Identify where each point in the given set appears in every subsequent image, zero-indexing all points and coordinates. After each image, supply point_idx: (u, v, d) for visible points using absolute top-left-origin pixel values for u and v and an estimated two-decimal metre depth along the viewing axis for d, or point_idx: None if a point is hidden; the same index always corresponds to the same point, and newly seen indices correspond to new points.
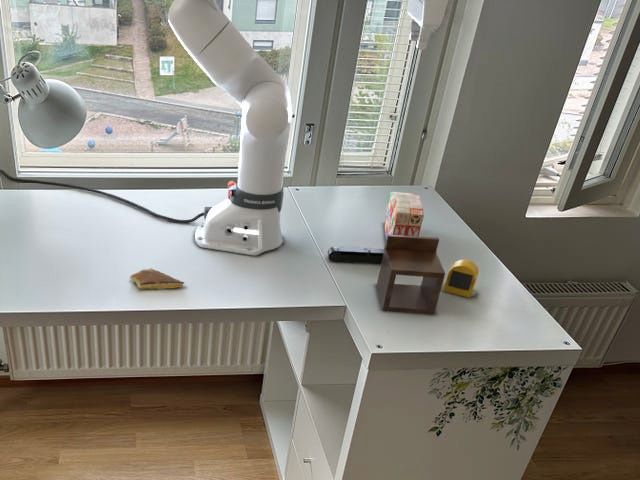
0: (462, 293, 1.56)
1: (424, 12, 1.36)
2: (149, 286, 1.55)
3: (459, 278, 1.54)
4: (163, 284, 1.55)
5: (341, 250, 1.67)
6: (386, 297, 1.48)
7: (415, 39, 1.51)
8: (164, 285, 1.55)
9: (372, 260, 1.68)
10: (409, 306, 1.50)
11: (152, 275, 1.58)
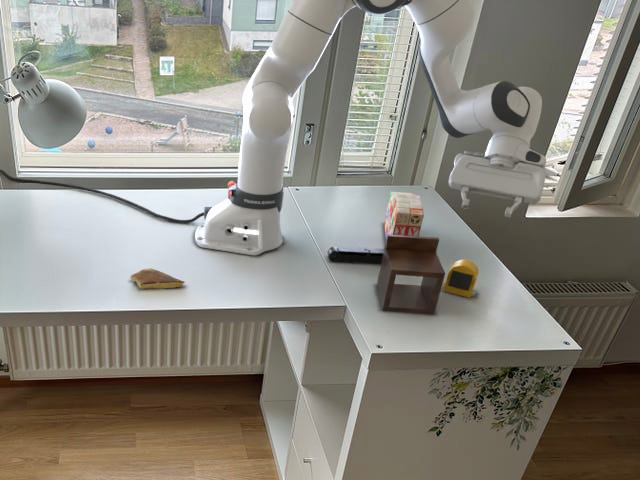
0: (462, 293, 1.56)
1: (543, 187, 1.54)
2: (150, 286, 1.55)
3: (459, 278, 1.54)
4: (164, 284, 1.55)
5: (341, 250, 1.67)
6: (386, 297, 1.48)
7: (467, 207, 1.60)
8: (165, 285, 1.56)
9: (372, 260, 1.68)
10: (409, 306, 1.50)
11: (152, 275, 1.58)
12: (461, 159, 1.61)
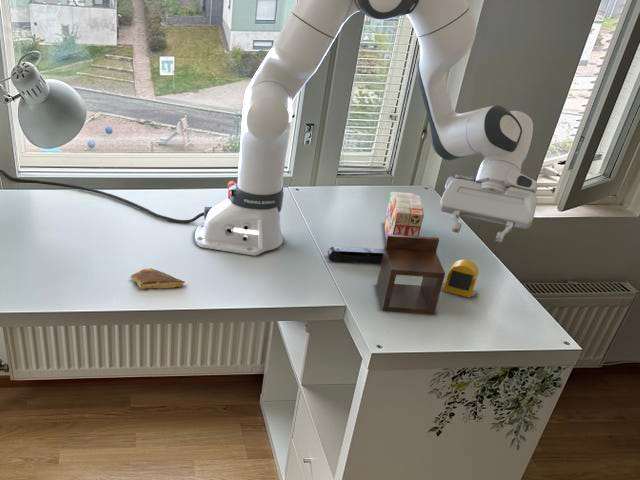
0: (462, 293, 1.56)
1: (534, 211, 1.53)
2: (150, 286, 1.55)
3: (459, 278, 1.54)
4: (164, 284, 1.55)
5: (341, 250, 1.67)
6: (386, 297, 1.48)
7: (458, 231, 1.59)
8: (165, 284, 1.56)
9: (372, 260, 1.68)
10: (409, 306, 1.50)
11: (152, 275, 1.58)
12: (452, 183, 1.60)
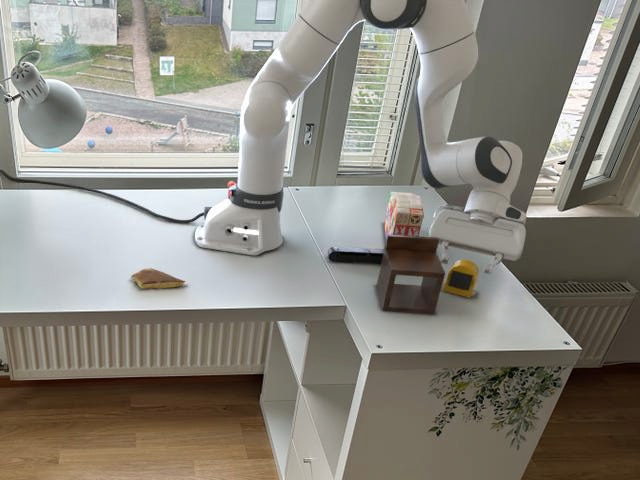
0: (462, 293, 1.56)
1: (523, 244, 1.51)
2: (150, 285, 1.55)
3: (459, 278, 1.54)
4: (164, 283, 1.56)
5: (341, 250, 1.67)
6: (386, 297, 1.48)
7: (447, 262, 1.57)
8: (165, 284, 1.56)
9: (372, 260, 1.68)
10: (409, 306, 1.50)
11: (152, 274, 1.58)
12: (441, 213, 1.58)
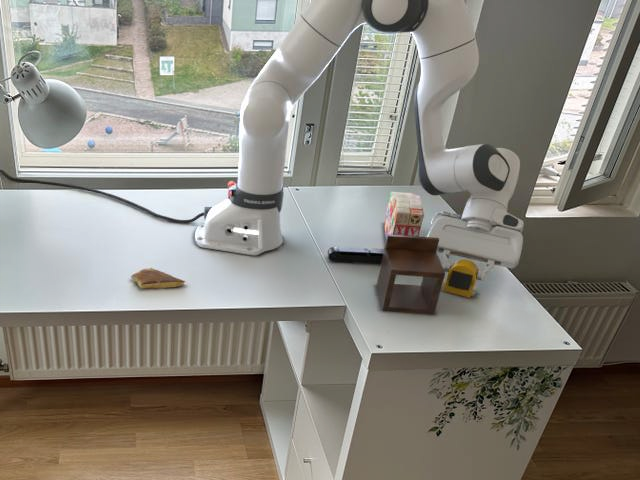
0: (462, 293, 1.56)
1: (520, 251, 1.50)
2: (150, 285, 1.55)
3: (459, 278, 1.54)
4: (164, 283, 1.56)
5: (341, 250, 1.67)
6: (386, 297, 1.48)
7: None
8: (165, 284, 1.56)
9: (372, 260, 1.68)
10: (409, 306, 1.50)
11: (152, 274, 1.58)
12: (438, 220, 1.58)
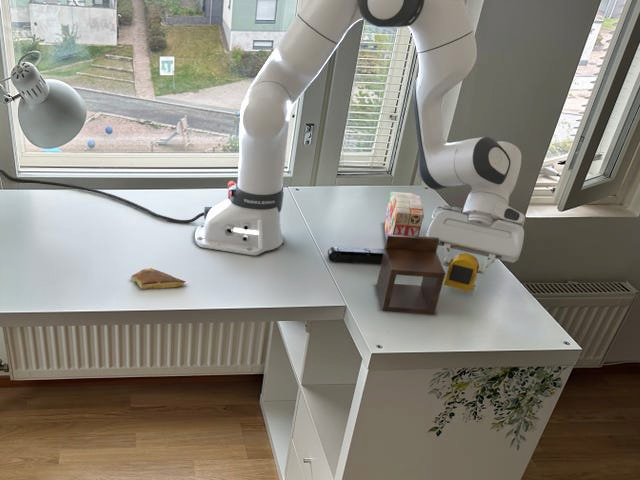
0: (463, 287, 1.55)
1: None
2: (150, 286, 1.55)
3: (460, 272, 1.54)
4: (165, 284, 1.56)
5: (341, 250, 1.67)
6: (386, 297, 1.48)
7: (449, 264, 1.56)
8: (165, 284, 1.56)
9: (372, 260, 1.68)
10: (409, 306, 1.50)
11: (153, 275, 1.58)
12: (439, 214, 1.57)
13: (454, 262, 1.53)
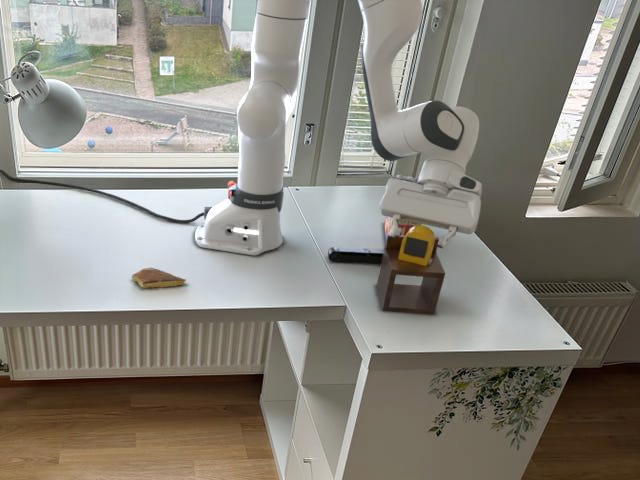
0: (418, 261, 1.46)
1: (478, 215, 1.41)
2: (152, 285, 1.56)
3: (414, 245, 1.45)
4: (166, 282, 1.56)
5: (341, 250, 1.67)
6: (386, 297, 1.48)
7: (399, 236, 1.47)
8: (166, 283, 1.56)
9: (372, 260, 1.68)
10: (409, 306, 1.50)
11: (153, 274, 1.58)
12: (393, 184, 1.48)
13: (408, 234, 1.45)
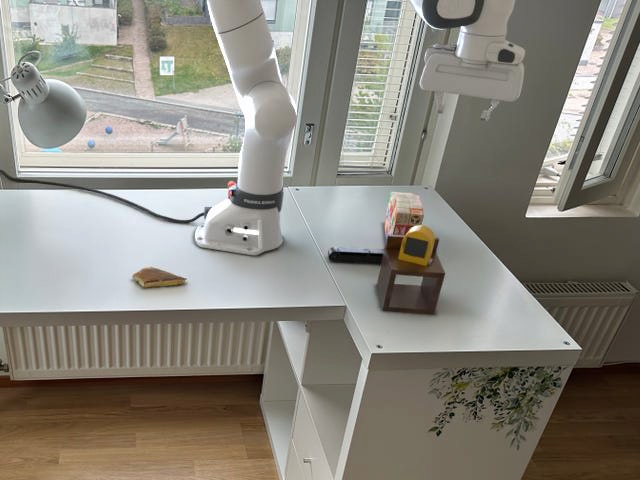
0: (418, 261, 1.46)
1: (519, 88, 1.40)
2: (153, 284, 1.56)
3: (414, 245, 1.45)
4: (166, 282, 1.56)
5: (341, 250, 1.67)
6: (386, 297, 1.48)
7: (443, 111, 1.51)
8: (167, 282, 1.56)
9: (372, 260, 1.68)
10: (409, 306, 1.50)
11: (153, 273, 1.58)
12: (430, 60, 1.46)
13: (408, 234, 1.45)
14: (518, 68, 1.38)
